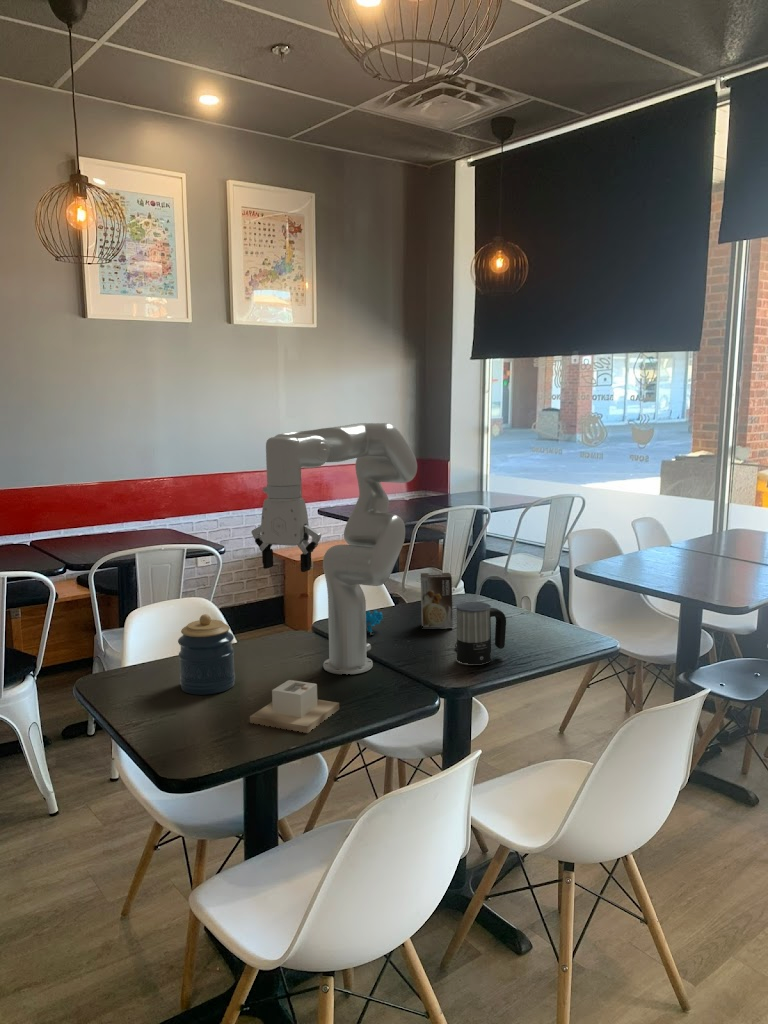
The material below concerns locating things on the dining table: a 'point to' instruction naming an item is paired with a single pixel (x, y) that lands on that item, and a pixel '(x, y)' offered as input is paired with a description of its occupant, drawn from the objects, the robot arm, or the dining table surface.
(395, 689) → the dining table surface
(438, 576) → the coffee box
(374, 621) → the blue green toy
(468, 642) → the milk frother
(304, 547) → the robot arm
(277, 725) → the base
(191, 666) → the canister
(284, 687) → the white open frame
